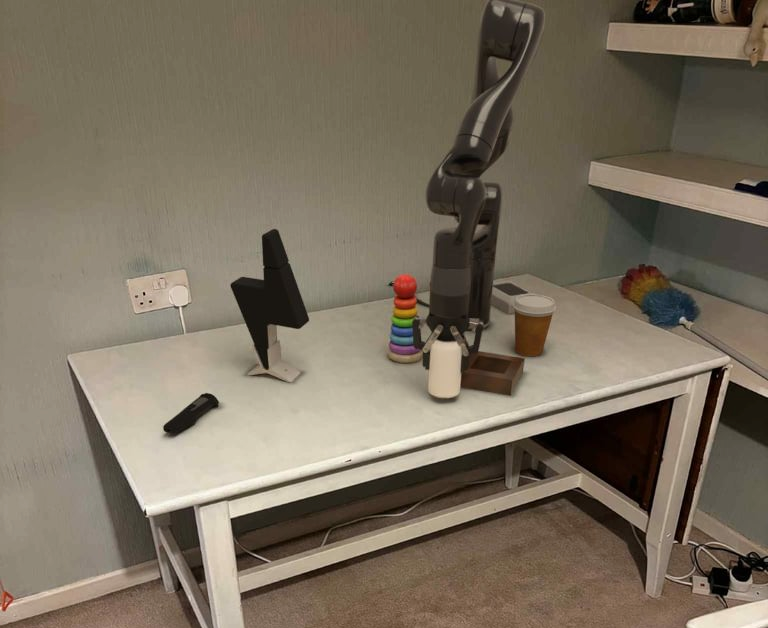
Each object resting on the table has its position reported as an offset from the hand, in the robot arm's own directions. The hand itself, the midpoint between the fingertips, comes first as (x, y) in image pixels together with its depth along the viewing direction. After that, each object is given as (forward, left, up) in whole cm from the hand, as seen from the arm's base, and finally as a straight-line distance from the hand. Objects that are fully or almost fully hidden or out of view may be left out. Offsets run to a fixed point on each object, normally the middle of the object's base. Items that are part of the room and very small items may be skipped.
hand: (445, 369), depth 154 cm
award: (-34, -15, -6) cm, 38 cm away
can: (0, 0, -5) cm, 5 cm away
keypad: (-22, +58, -6) cm, 62 cm away
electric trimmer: (-30, -40, -6) cm, 51 cm away
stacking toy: (-19, +11, -6) cm, 23 cm away
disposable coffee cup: (0, +33, -6) cm, 34 cm away
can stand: (+2, +14, -6) cm, 15 cm away
